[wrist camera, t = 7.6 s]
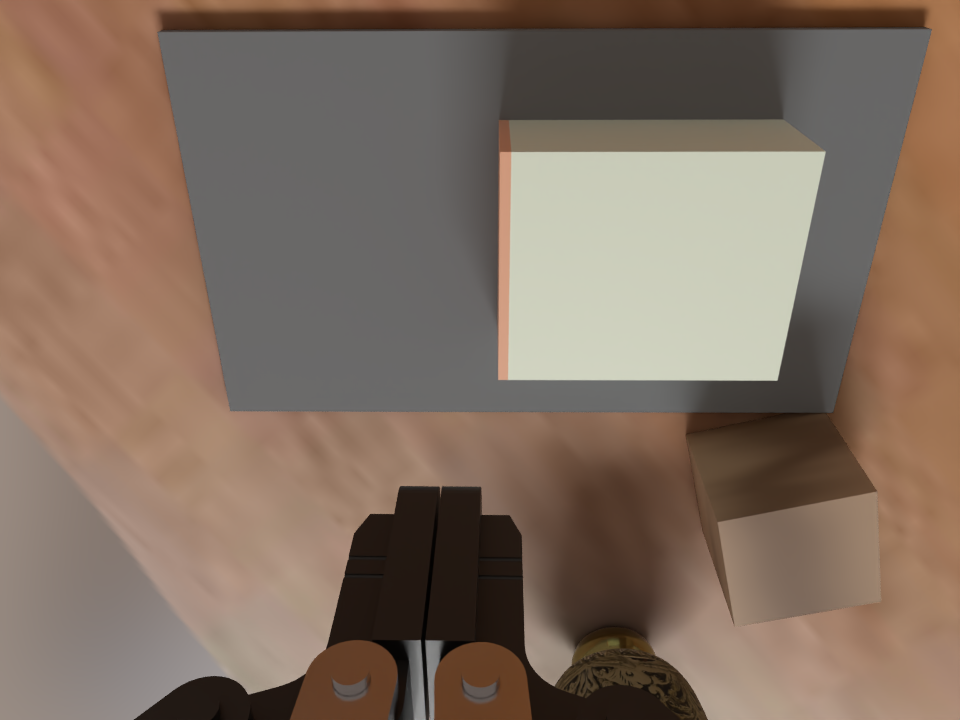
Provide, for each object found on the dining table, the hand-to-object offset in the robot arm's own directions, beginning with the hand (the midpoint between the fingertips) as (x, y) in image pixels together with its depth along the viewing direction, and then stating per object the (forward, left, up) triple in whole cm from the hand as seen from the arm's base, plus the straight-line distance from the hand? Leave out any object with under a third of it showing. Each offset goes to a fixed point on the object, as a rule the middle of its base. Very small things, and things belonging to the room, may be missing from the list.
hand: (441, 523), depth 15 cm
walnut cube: (-11, +9, -14) cm, 20 cm away
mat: (-2, 0, -14) cm, 14 cm away
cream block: (-1, -1, -11) cm, 11 cm away
